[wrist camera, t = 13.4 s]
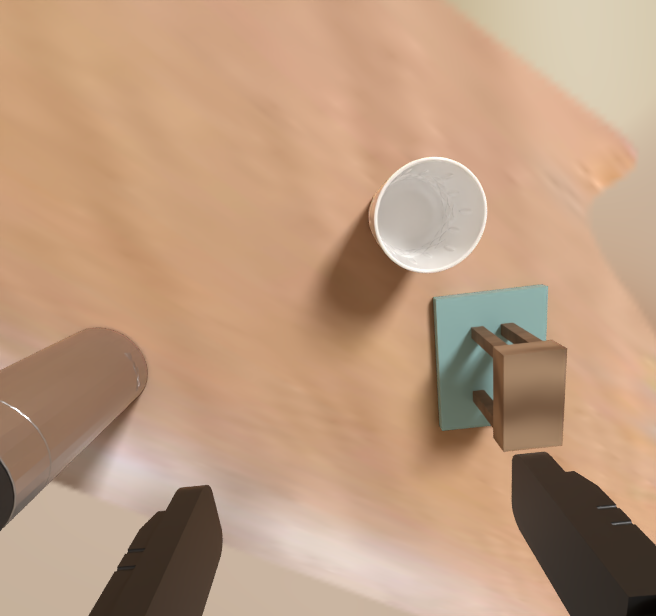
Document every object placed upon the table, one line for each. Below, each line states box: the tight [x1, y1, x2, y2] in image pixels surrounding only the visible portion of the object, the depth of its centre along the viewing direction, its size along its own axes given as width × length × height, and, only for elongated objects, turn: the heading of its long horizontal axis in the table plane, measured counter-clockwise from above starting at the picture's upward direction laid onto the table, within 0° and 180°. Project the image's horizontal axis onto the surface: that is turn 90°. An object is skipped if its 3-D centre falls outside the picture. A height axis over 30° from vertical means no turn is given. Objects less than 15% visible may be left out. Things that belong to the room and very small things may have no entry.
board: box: [433, 284, 548, 431], centre depth 38 cm, size 11×15×1 cm
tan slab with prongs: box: [471, 323, 567, 452], centre depth 34 cm, size 9×5×8 cm, turn 7°
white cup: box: [368, 157, 487, 273], centre depth 30 cm, size 8×8×10 cm
